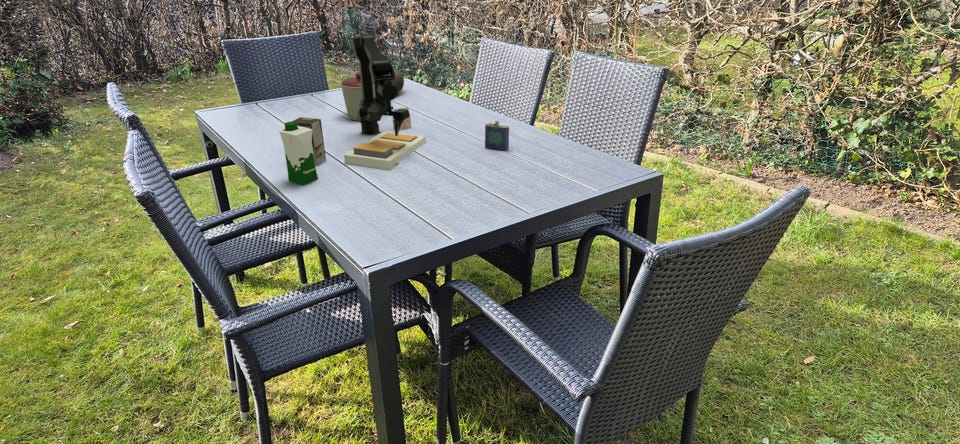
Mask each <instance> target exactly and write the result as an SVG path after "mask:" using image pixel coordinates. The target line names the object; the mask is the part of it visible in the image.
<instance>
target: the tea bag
mask: <svg viewBox="0 0 960 444" xmlns="http://www.w3.org/2000/svg"><path fill="white" fill-rule="evenodd" d="M398 109H407V110H408V111H409V114H410V115H411V112H410V110H409V107H408V106H407V107H406V106H405V107H399V108H393V111H396V110H398ZM393 120H395V119H394V118H393V117H392V127H393V130H395V124H394V122H393ZM411 120H412V118H411V116H410V117H408V118H407V119H405V120H404V121H403V123H402V125H401V128H400V130H399V131H404V130H408V129H409V130H410V129H412V121H411Z"/></svg>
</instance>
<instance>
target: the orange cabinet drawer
mask: <svg viewBox="0 0 960 444" xmlns="http://www.w3.org/2000/svg"><path fill="white" fill-rule="evenodd" d="M394 133H395V132H393V133H387V134H385V135H383V136H382V137H381V138H383V139H390V140H398V141H406V142H412V141H413V140H415V139H416V138H417V136H418V135H417V136H410V135H411V134H409V135H402V134H403V133H401V134H398V136H395V134H394Z"/></svg>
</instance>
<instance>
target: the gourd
mask: <svg viewBox="0 0 960 444" xmlns="http://www.w3.org/2000/svg"><path fill="white" fill-rule="evenodd" d="M393 69H394V72H395V80H391V82H392V84H393V85H394V86H395V87H396V88H397V91H398V94H399V93H400V92H401V91H402V90H403V88H404V85H405V80H404V79H405V78H404V75H403V73H402V72H401V71H400V70H398V69H397V68H393ZM357 72H360V69H359V70H358V71H357ZM385 76H388V75H385Z"/></svg>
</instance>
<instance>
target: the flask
mask: <svg viewBox="0 0 960 444" xmlns="http://www.w3.org/2000/svg"><path fill="white" fill-rule="evenodd" d="M499 123H500V120H495V121H494V123H492V122H489V123H485V127H484V128H485V129H484V148H485V149H488V150H491V151H493V150H494V151H503V152H508V151H509V149H510V126H509V125H500V124H499Z"/></svg>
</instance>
